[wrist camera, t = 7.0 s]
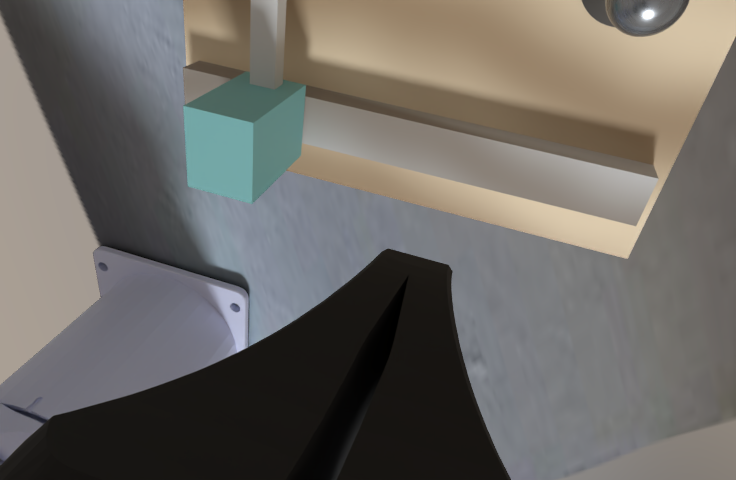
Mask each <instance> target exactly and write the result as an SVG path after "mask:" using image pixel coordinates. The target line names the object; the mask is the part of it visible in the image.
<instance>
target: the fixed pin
mask: <svg viewBox="0 0 736 480" xmlns="http://www.w3.org/2000/svg"><path fill="white" fill-rule="evenodd" d="M689 1H690V0H605V7H606V13H607V16H608V18H609V20H610V22H611V23H612V24H613V25H614V27H615V28H617V29H618V30H619V31H621V32H622V33H624V34H626V35H629V36H634V37H647V36H652V35H656V34H658V33H661V32H663V31H665V30H666V29H668V28H669V27H671V26H672V25H673V24H674V23H675V22H676V21H677V20H679V18H680V17H681V16H682V15H683V13H684V12H685V10H686V8H687V6H688V4H689Z"/></svg>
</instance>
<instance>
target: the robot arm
mask: <svg viewBox="0 0 736 480" xmlns="http://www.w3.org/2000/svg"><path fill="white" fill-rule="evenodd" d="M93 256H94V262H95V268H96V273H97V279H98V284H99V290H100V295H101V298H100V299H99V300H98V301H97V302H95V303H94V304H93V305H92V306H91V307H90V308H88V309H87V310H86V311H85V312H84V313H83V314H81V315H80V316H79V317H78V318H77V319H76V320H75V321H73V322H72V323H71V324H70V325H69V326H68V327H67V328H65V329H64V330H63V331H62V332H61V333H60V334H58V335H57V336H56V337H55V338H54V339H53V340H52V341H50V342H49V343H48V344H47V345H46V346H45V347H43V348H42V349H41V350H40V351H39V352H38V353H36V354H35V355H34V356H33V357H32V358H31V359H30V360H28V361H27V362H26V363H25V364H24V365H23V366H22V367H20V368H19V369H18V370H17V371H16V372H15V373H13V374H12V375H11V376H10V377H9V378H8V379H7V380H5V381H4V382H3V383H2V384H1V385H0V480H511V479H510V477H509V475H508V473H507V471H506V469H505V467H504V465H503V463H502V461H501V459H500V457H499V455H498V453H497V451H496V448H495V446H494V444H493V441H492V439H491V437H490V434H489V432H488V430H487V427H486V425H485V423H484V420H483V417H482V415H481V412H480V409H479V407H478V404H477V402H476V399H475V396H474V393H473V390H472V387H471V384H470V381H469V377H468V374H467V370H466V367H465V363H464V360H463V356H462V352H461V348H460V344H459V339H458V334H457V329H456V324H455V318H454V312H453V303H452V292H451V278H452V270H451V268H450V267H449V265H446V264H443V263H439V262H435V261H432V260H428V259H424V258H421V257H417V256H413V255H410V254H406V253H402V252H399V251H395V250H391V249H386V250H384V251H382V252H381V253H380V254H379V255H378V256H377V257H376V258H375V259H374V260H373V261H372V262H371V263H370V264H369V265H367V266H366V267H365V268H364V269H363V270H362V271H361V272H359V273H358V274H357V275H356V276H355V277H354V278H352V279H351V280H350V281H349V282H347V283H346V284H345V285H344V286H342V287H341V288H340V289H338V290H337V291H336V292H335V293H333V294H332V295H331V296H329V297H328V298H327V299H325V300H324V301H323V302H321V303H320V304H318V305H317V306H315V307H314V308H312V309H311V310H310V311H308V312H307V313H305V314H304V315H302V316H301V317H299V318H298V319H296V320H295V321H293V322H292V323H290V324H288V325H287V326H285V327H283V328H282V329H280V330H278V331H277V332H275V333H273V334H272V335H270V336H268V337H266V338H264V339H263V340H261V341H259V342H257V343H255V344H253V345H251V346H250V347H248V306H249V297H248V294H247V292H246V291H245V290H244V289H243V288H241V287H238V286H235V285H232V284H229V283H225V282H222V281H219V280H215V279H212V278H209V277H205V276H202V275H199V274H195V273H192V272H189V271H185V270H182V269H179V268H175V267H172V266H169V265H166V264H162V263H159V262H156V261H152V260H149V259H146V258H142V257H139V256H136V255H132V254H129V253H126V252H122V251H119V250H116V249H112V248H109V247H106V246H100V247H98V248H97V249H96V250H95V251H94V252H93ZM236 304H237V305H238V306H239V307H238V306H237V305H236Z"/></svg>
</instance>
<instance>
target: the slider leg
mask: <svg viewBox="0 0 736 480" xmlns="http://www.w3.org/2000/svg"><path fill="white" fill-rule="evenodd" d="M286 2H287V0H251V18H250V72H248V71H246V72H244V73H243V74H241V75H239V76H237V77H235V78H233V79H231V80H230V81H228V82H226V83H224V84H222V85H220V86H219V87H217V88H215V89H213V90H211V91H209V92H208V93H206V94H204V95H202V96H200V97H198V98H197V99H195V100H193V101H191V102H189V103H187V104H185V105H184V106H183V110H184V128H185V145H186V163H187V180H188V187H192V188H196V189H199V190H203V191H207V192H210V193H214V194H218V195H221V196H225V197H229V198H232V199H236V200H239V201H243V202H247V203H250V204H253V203H254V202H255V201H256V200H257V199H258V198H259V197H260V196H261V195H262V194H263V193H264V192H265V191H266V190H267V189H268V188H269V187H270V186H271V185H272V184H273V183H274V182H275V181H276V180H277V179H278V178H279V177H280V176H281V175H282V174H283V173H284V172H285V171H286V170H287V169H288V168H289V167H290V166H291V165H292V164H293V163H294V162H295V161H296V160H297V159H298V158H299V157H300V156H301V149H302V134H303V120H304V106H305V91H306V85H305V84H300V83H296V82H291V81H287V80H283V67H284V45H285V24H286Z"/></svg>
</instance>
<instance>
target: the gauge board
mask: <svg viewBox="0 0 736 480" xmlns="http://www.w3.org/2000/svg"><path fill="white" fill-rule="evenodd" d="M183 6H184V25H185V45H186V64H187V66H186V67H183V76H184V95H185V104H187V103H189V102H191V101H193V100H195V99H197V98H198V97H200V96H202V95H204V94H206V93H208V92H209V91H211V90H213V89H215V88H217V87H219V86H220V85H222V84H224V83H226V82H228V81H230V80H231V79H233V78H235V77H237V76H239V75H241V74H243V73H244V72H246V71H248V72H250V18H251V0H183ZM735 37H736V0H690V1H689V4H688V6H687V8H686V10H685V12H684V13H683V15H682V16H681V17H680V18H679V20H677V21H676V22H675V23H674V24H673V25H672V26H671V27H669V28H668V29H666V30H665V31H663V32H661V33H658V34H656V35H652V36H647V37H634V36H629V35H626V34H624V33H622V32H621V31H619V30H618V29H617V28H615V27H614V25H613V24H612V23H611V22H610V20H609V18H608V16H607V13H606V7H605V0H287V2H286V24H285V45H284V67H283V80H287V81H291V82H296V83H300V84H305V85H306V91H305V106H304V120H303V134H302V149H301V156H300V157H299V158H298V159H297V160H296V161H295V162H294V163H293V164H292V165H291V166H290V167H289V168H288V169H287V170H286V171H290V172H294V173H298V174H302V175H306V176H310V177H313V178H317V179H321V180H325V181H329V182H333V183H337V184H340V185H344V186H348V187H352V188H356V189H360V190H364V191H367V192H371V193H375V194H379V195H383V196H387V197H391V198H394V199H398V200H402V201H406V202H410V203H414V204H418V205H421V206H425V207H429V208H433V209H437V210H441V211H445V212H448V213H452V214H456V215H460V216H464V217H468V218H472V219H475V220H479V221H483V222H487V223H491V224H495V225H499V226H502V227H506V228H510V229H514V230H518V231H522V232H526V233H529V234H533V235H537V236H541V237H545V238H549V239H553V240H556V241H560V242H564V243H568V244H572V245H576V246H580V247H583V248H587V249H591V250H595V251H599V252H603V253H607V254H610V255H614V256H618V257H622V258H626V259H628V257H629V255H630V253H631V251H632V248H633V246H634V244H635V242H636V240H637V238H638V236H639V234H640V232H641V230H642V228H643V226H644V224H645V222H646V220H647V218H648V216H649V213H650V211H651V209H652V207H653V205H654V203H655V201H656V199H657V197H658V195H659V193H660V191H661V189H662V187H663V185H664V183H665V181H666V178H667V176H668V174H669V172H670V170H671V168H672V166H673V164H674V162H675V160H676V158H677V156H678V154H679V152H680V150H681V148H682V146H683V144H684V141H685V139H686V137H687V135H688V133H689V131H690V129H691V127H692V125H693V123H694V121H695V119H696V117H697V115H698V113H699V111H700V109H701V106H702V104H703V102H704V100H705V98H706V96H707V94H708V92H709V90H710V88H711V86H712V84H713V82H714V80H715V78H716V76H717V74H718V71H719V69H720V67H721V65H722V63H723V61H724V59H725V57H726V55H727V53H728V51H729V49H730V47H731V45H732V43H733V41H734V39H735Z"/></svg>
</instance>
